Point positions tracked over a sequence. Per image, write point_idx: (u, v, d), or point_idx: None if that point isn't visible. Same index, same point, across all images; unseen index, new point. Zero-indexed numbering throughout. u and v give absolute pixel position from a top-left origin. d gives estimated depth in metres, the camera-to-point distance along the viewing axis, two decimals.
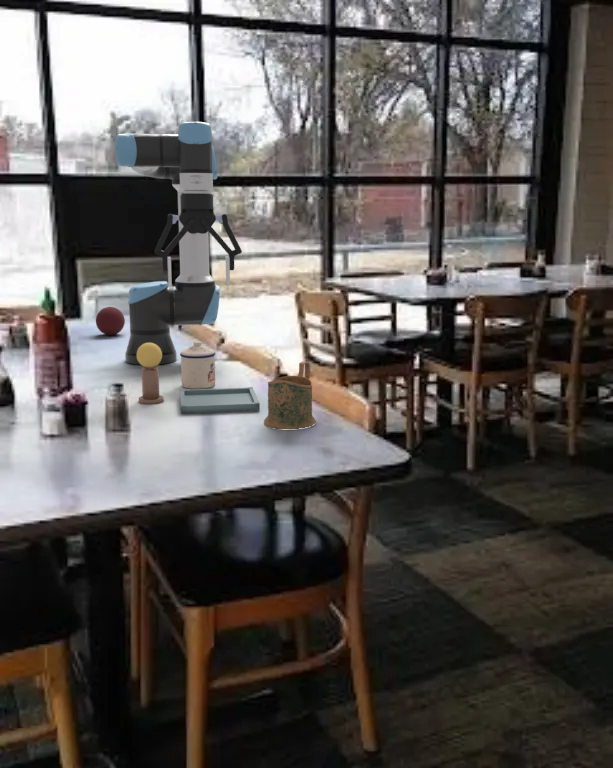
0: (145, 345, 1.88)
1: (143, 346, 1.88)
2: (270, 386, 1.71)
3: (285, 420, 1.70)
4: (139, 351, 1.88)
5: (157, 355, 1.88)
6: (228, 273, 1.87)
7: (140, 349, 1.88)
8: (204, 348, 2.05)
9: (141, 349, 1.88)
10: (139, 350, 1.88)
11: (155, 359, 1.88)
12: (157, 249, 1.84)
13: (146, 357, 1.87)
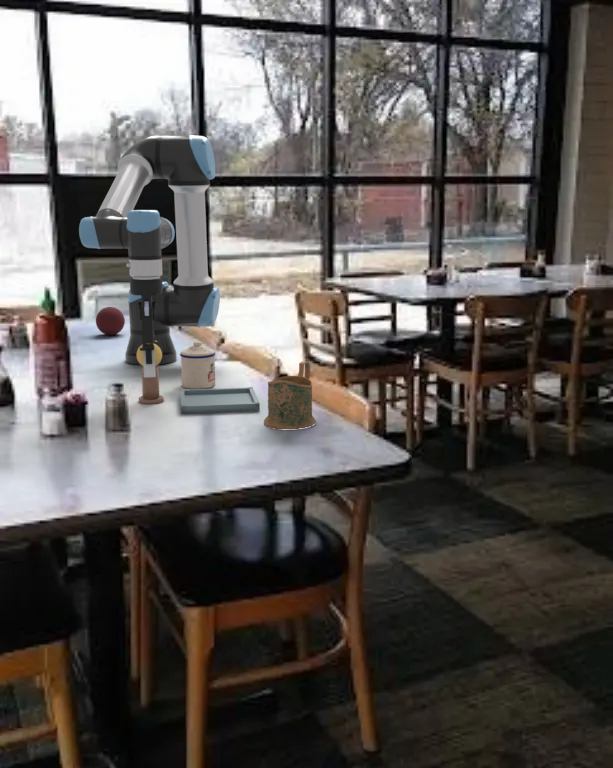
0: None
1: None
2: (270, 386, 1.71)
3: (285, 420, 1.70)
4: (139, 351, 1.88)
5: (157, 355, 1.88)
6: None
7: None
8: (204, 348, 2.05)
9: None
10: (139, 350, 1.88)
11: (155, 359, 1.88)
12: None
13: None
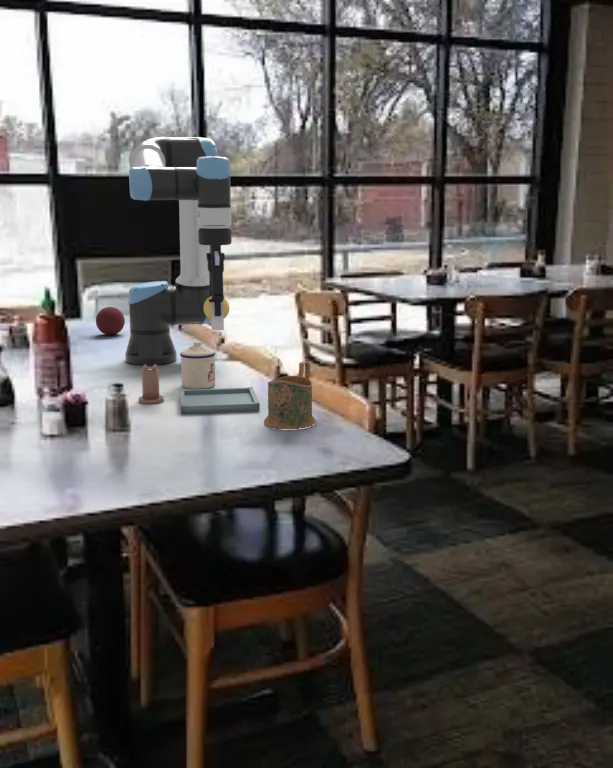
0: None
1: None
2: (270, 386, 1.71)
3: (285, 420, 1.70)
4: (207, 303, 1.83)
5: (225, 308, 1.83)
6: None
7: (208, 301, 1.83)
8: (204, 348, 2.05)
9: None
10: (207, 302, 1.83)
11: None
12: None
13: None
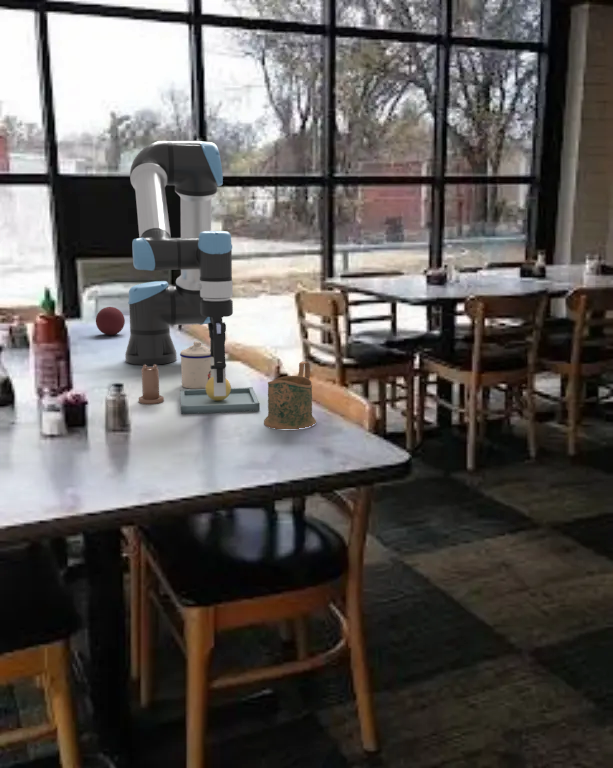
0: None
1: (213, 379, 1.88)
2: (270, 386, 1.71)
3: (285, 420, 1.70)
4: (209, 385, 1.88)
5: (226, 389, 1.88)
6: None
7: (210, 383, 1.88)
8: (204, 348, 2.05)
9: (211, 382, 1.88)
10: (209, 384, 1.88)
11: None
12: (210, 348, 1.96)
13: None
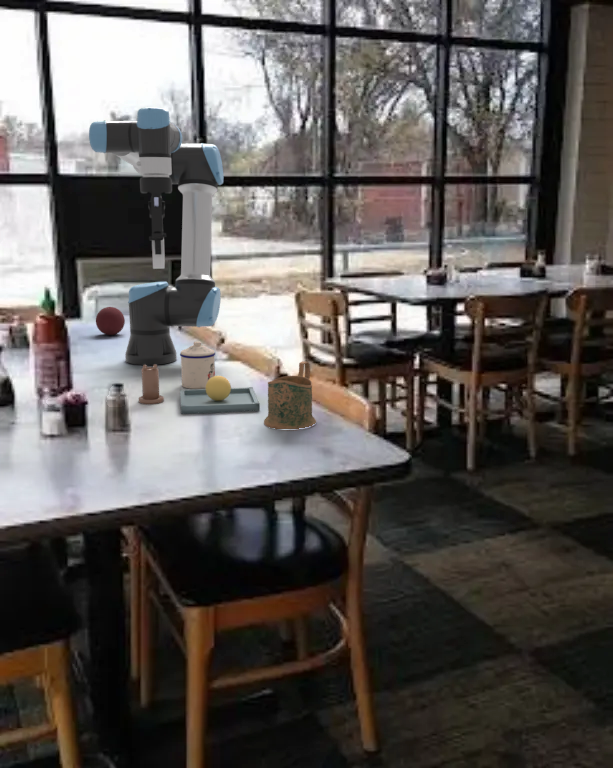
0: (215, 378, 1.88)
1: (213, 379, 1.88)
2: (270, 386, 1.71)
3: (285, 420, 1.70)
4: (209, 384, 1.88)
5: (226, 389, 1.88)
6: None
7: (210, 382, 1.88)
8: (204, 348, 2.05)
9: (211, 382, 1.88)
10: (209, 383, 1.88)
11: (225, 392, 1.88)
12: None
13: (216, 390, 1.87)
